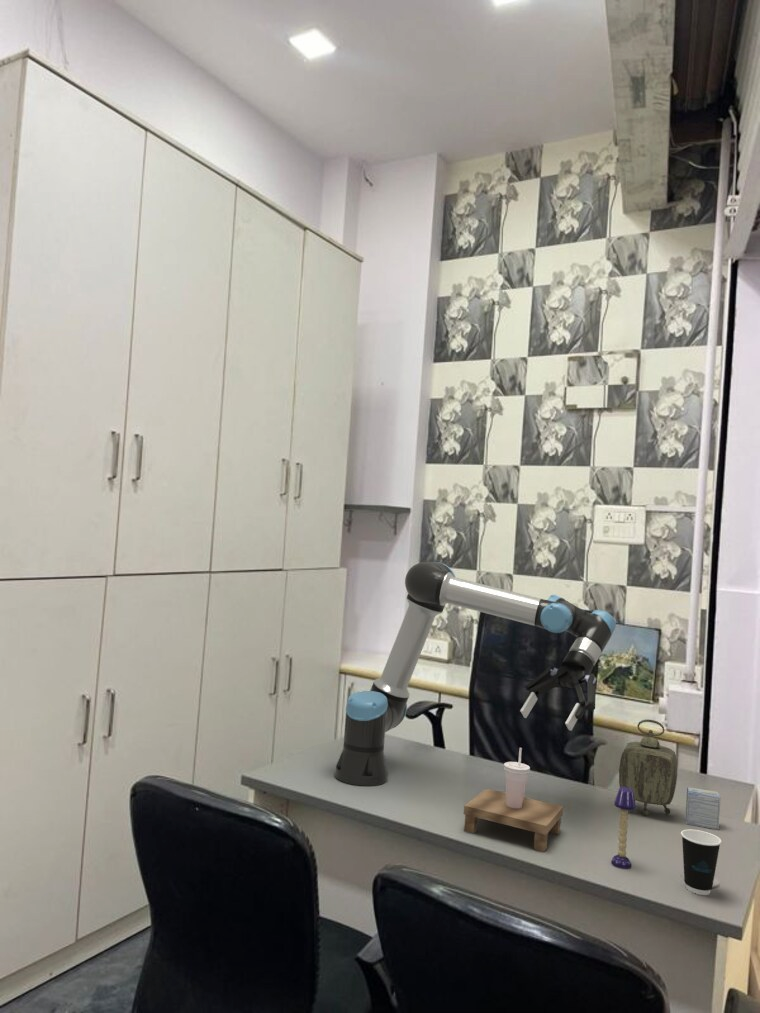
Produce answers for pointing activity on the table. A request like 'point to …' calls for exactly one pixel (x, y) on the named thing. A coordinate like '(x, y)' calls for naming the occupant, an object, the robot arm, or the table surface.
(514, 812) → the step stool
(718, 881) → the table surface
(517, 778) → the smoothie
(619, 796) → the toy lamp
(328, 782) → the table surface
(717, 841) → the dixie cup
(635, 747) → the tabletop clock
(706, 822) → the medicine box
